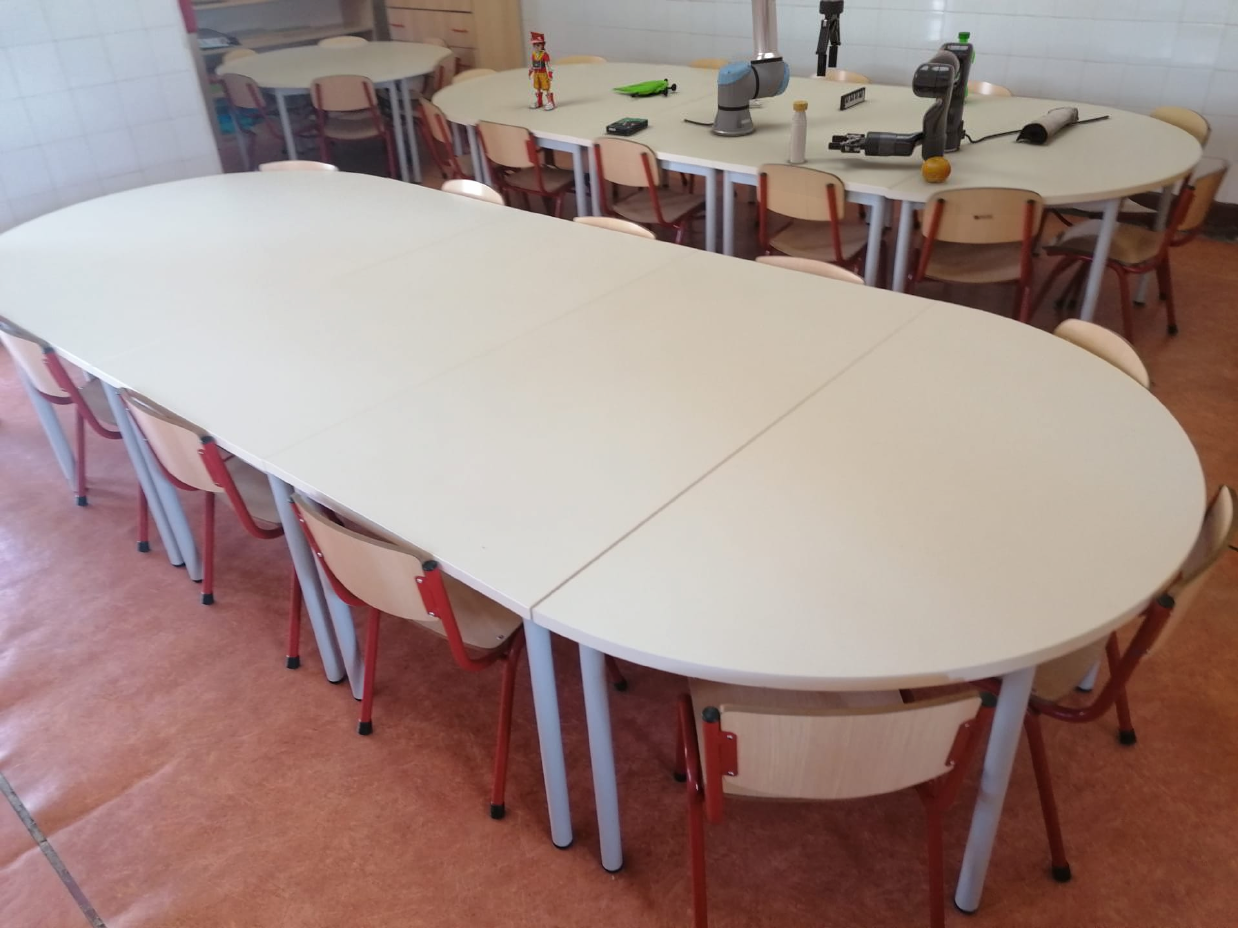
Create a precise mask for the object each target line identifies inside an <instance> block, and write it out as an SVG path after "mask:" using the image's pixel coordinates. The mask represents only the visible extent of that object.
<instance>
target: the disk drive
mask: <svg viewBox="0 0 1238 928" xmlns="http://www.w3.org/2000/svg"><path fill="white" fill-rule="evenodd" d="M648 126H649V120H648V119H647V118H639V117H636V118H635V117H628V116H627V117H624V118H621V119H619V120H617V121H614V122H613V123H610V124H608V125H606V126H605V130H606V131H605V132H606V133H607V134H613V135H619V136H621V135H622V136H630V135H633V134H634V133H637V132H638V131H641V130H643V129H645V128H646V127H648Z"/></svg>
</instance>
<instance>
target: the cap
mask: <svg viewBox="0 0 1238 928" xmlns="http://www.w3.org/2000/svg"><path fill="white" fill-rule="evenodd" d="M792 107H793V108H792V109H793V111H794V112H795V111H805V112H806V111H807V110H808V109H809V108H808V107H809V102H808V101H806V100H796V101H794V102H793V106H792Z"/></svg>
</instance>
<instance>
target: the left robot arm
mask: <svg viewBox="0 0 1238 928" xmlns="http://www.w3.org/2000/svg"><path fill="white" fill-rule="evenodd" d="M818 6H819V8H818V13H819V14H820V15H824V18H823V19H821V20H820V29H819V34H818V39H817V46H816V51H815V55H817V67H816V77H826V76H827V68H831V69H833V68H834V69H837V65H838V53H839V46H840V47H841V46H842V41H841V23H840V21H841V20H840V19H841V14H843V13H844V7H845V1H844V0H820V1H819V5H818ZM751 14H752V15H751V17H752V18H751V19H752V35H753V56H752V57H751V59H750V62H749V61H739V62H738V61H734V62H730V63H727V64H724V65H723V66H721V67H720V68H719V70H718V75H717V111H716V114H715V118H714V120H713V122H711V123H710V122H709V123H705V122H699V121H695V120H690V119H686V118H684V119H683V121H684V122H687V123H691V124H695V125H701V126H706V127H707V126H710V127H711V126H712V133H713V134H715V135H717V136H721V137H741V136H746V135H750V134H752V133H754V127H755V126H754V122H753V118H752V115H751V111H750V108H749V100H753V99H756V100H758V99H766V98H774V97H778V96H782V95H783V94H784V93H785V92H786V90H787V88H788V86H789V83H790V78H791V72H790V67H789V63H788V62H786V61H785V60H783V58H784V57H783V55H782V54H781V53H780V52H779V44H778V43H779V42H778V39H779V38H778V20H777V19H778V18H777V17H778V15H777V0H751ZM829 44H830V45H829ZM827 51H828V52H827ZM827 53H828V54H827Z"/></svg>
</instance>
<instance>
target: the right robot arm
mask: <svg viewBox="0 0 1238 928" xmlns="http://www.w3.org/2000/svg"><path fill="white" fill-rule="evenodd" d="M974 50H975V49H974V45H973V43H971V42H967V43H959V41H958V42H957V41H953V42H951V41H949V42H945V43H943V44H941V45H940V47H939V49H938V51H936V54H935V55H933V56H932V57H931V58H930V59H929V60H928V61H926V62H922V63H921V64H919V65H918V66H917V67H916V69H915V71H914V74H913V76H912V79H911V90H912V93H913V95H915V96H916V97H918V98H922V99H935V102H933V104H931V106H929V107H928V108H927V110H926V111H925V112H924V115H923V117H922V127H921V128H922V130H921V131H916V132H911V133H903V132H901V133H897V132H891V131H868V132H867V133H866V134H865V133H852V132H847V133H846V134H844V135H840V134H833V135H832V136H831V141H830V142H828V144H827V145H828V146H827V150H829V151H839V152H840V153H841V154H860V153H861V151H864V156H866V157H881V158H882V157H884V158H885V157H886V158H887V157H889V158H890V157H901V158H902V157H905V158H907V157H908V158H909V157H911V156H912V155H913V153H914V152H915V149H916V148H917V147H920V146H921V151H920V153H921V154H920V155H921V158H922V160H923V161H924V162H925V161H926V160H928V159H929V158H933V157H943V158H945V154H946V153H953V152H956V151H960V149H961V143H962V140H965V138H967V139H968V141H969V142H970V143H971V144H977V143H979V142H982V141H984V140H985V139H991V138H994V137H999V136H1005V135H1011V134H1015V133H1020V132H1021V130H1022V128H1021V129H1016V130H1015V129H1014V130H1009V131H1005V132H1000V133H999V132H998V133H994V134H990V135H987V136H983V137H981V138H979V139H977V140H973V139H972V138H971V136H970V134H968V133H966V132H967V130H966V129H964V124H965V120H963V115H964V108H965V103H966V98H967V97H966V90H967V86H968V82H969V78H970V77H969V76H970V71H971V68H972V64H973V63H972V59H973V52H974ZM957 74H959V76H958V78H957V79H955V80H954V78H955V77H956V75H957ZM965 97H966V98H965ZM1109 117H1110V116H1109V115H1104V116H1100V117H1099V116H1098V117H1095V118H1090V119H1084V120H1078V121H1077V122H1075V123H1071V124H1065V125H1064V126H1071V125H1072V126H1073V125H1077V124H1083V123H1084V124H1085V123H1088V122H1090V123H1091V122H1095V121H1099V120H1103V119H1107V118H1108V119H1109ZM1064 126H1063V127H1064Z"/></svg>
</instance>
